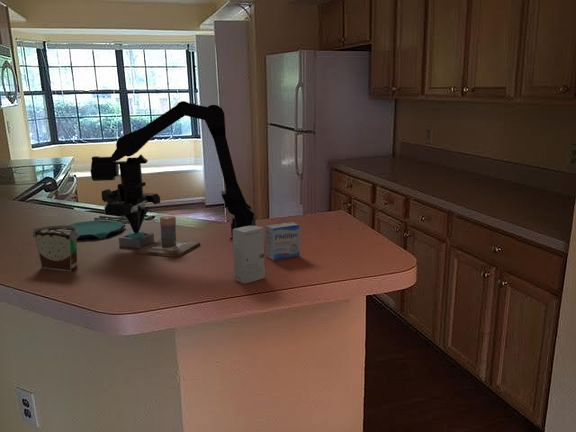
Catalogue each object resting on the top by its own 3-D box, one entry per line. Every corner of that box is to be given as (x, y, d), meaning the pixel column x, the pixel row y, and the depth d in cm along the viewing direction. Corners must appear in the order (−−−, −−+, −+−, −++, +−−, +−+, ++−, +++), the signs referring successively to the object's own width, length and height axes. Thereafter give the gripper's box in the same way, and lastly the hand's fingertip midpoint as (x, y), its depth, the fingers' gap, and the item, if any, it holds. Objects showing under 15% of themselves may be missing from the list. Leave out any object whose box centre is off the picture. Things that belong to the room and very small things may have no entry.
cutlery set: (44, 240, 150) (43, 233, 150) (96, 219, 179) (95, 213, 179) (105, 243, 147) (104, 235, 147) (148, 221, 176) (147, 214, 176)
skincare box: (245, 284, 110) (243, 232, 108) (233, 279, 114) (231, 228, 111) (266, 277, 114) (264, 227, 112) (253, 273, 118) (252, 224, 115)
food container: (93, 264, 126) (89, 226, 124) (76, 272, 121) (71, 232, 118) (55, 260, 130) (50, 223, 128) (36, 267, 125) (31, 229, 122)
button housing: (154, 241, 146) (153, 233, 146) (140, 248, 140) (139, 239, 139) (134, 240, 148) (133, 231, 148) (119, 246, 142) (118, 237, 141)
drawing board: (200, 244, 142) (200, 241, 142) (178, 257, 131) (178, 253, 131) (161, 241, 146) (160, 238, 146) (136, 253, 135) (136, 249, 135)
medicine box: (273, 261, 126) (272, 228, 124) (265, 256, 130) (265, 224, 128) (300, 256, 130) (299, 224, 128) (292, 252, 134) (291, 221, 132)
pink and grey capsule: (179, 243, 140) (178, 216, 138) (172, 248, 136) (171, 220, 134) (165, 242, 141) (164, 215, 139) (158, 246, 137) (157, 218, 135)
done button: (147, 239, 145) (147, 231, 145) (138, 243, 141) (138, 235, 140) (134, 238, 146) (134, 230, 146) (125, 242, 142) (125, 234, 142)
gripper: (127, 174, 151) (132, 223, 154) (85, 183, 134) (91, 239, 137) (159, 175, 147) (163, 225, 151) (120, 185, 130) (125, 242, 134)
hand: (136, 232), depth 143 cm, fingers closed, pressing on done button
